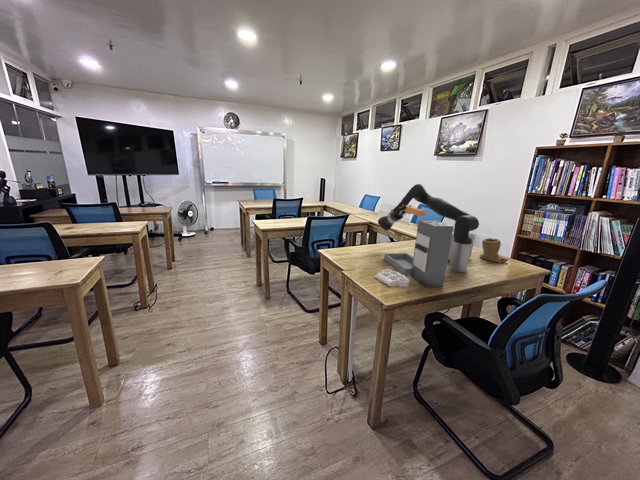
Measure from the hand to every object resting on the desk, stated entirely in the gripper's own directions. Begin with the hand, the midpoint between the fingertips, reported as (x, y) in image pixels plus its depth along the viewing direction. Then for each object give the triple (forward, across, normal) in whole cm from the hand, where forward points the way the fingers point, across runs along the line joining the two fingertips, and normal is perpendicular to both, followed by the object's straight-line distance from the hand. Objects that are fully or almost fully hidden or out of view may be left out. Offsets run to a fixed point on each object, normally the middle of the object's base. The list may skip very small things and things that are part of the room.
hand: (408, 206), depth 151 cm
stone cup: (-18, +66, +32) cm, 76 cm away
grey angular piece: (-23, +40, +29) cm, 54 cm away
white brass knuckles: (+2, -18, +44) cm, 48 cm away
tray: (-14, 0, +34) cm, 37 cm away
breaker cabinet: (+6, 0, +45) cm, 46 cm away
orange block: (+3, 0, +5) cm, 6 cm away
